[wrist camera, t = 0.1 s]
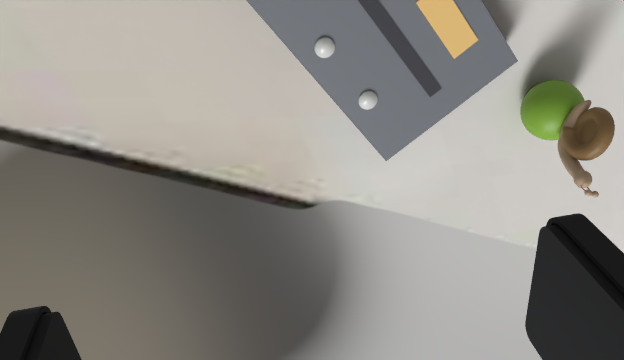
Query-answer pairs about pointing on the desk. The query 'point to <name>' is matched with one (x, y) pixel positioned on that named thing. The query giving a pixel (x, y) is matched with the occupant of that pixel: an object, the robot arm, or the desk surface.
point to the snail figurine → (568, 126)
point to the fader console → (392, 58)
